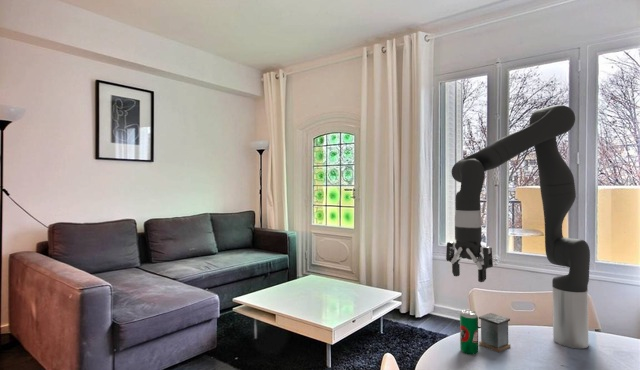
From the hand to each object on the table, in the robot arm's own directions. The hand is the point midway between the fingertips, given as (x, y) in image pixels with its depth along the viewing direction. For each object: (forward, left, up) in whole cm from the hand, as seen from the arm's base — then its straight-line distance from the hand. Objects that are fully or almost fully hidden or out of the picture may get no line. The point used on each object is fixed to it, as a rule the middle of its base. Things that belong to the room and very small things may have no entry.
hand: (468, 278), depth 109 cm
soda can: (0, 0, -22) cm, 22 cm away
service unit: (-10, +2, -22) cm, 24 cm away
